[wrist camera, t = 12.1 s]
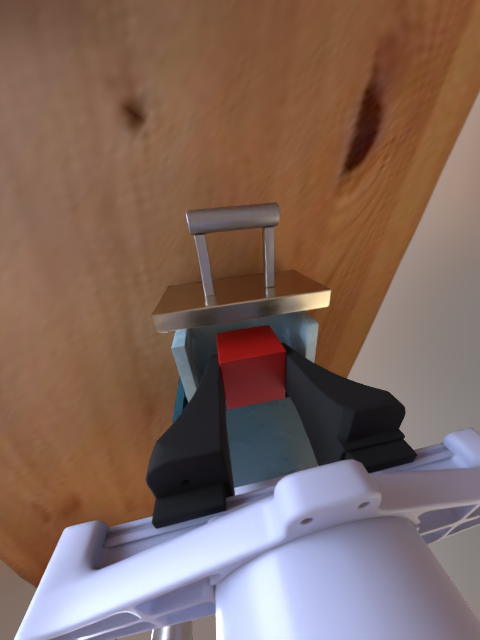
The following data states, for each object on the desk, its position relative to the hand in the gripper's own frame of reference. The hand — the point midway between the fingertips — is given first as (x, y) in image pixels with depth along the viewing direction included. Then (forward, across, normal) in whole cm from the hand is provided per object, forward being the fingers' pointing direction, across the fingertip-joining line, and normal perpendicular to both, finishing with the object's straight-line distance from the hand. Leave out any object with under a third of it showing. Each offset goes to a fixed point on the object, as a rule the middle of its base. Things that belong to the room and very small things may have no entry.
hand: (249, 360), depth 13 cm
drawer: (+5, 0, -2) cm, 5 cm away
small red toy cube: (+2, 0, 0) cm, 2 cm away
